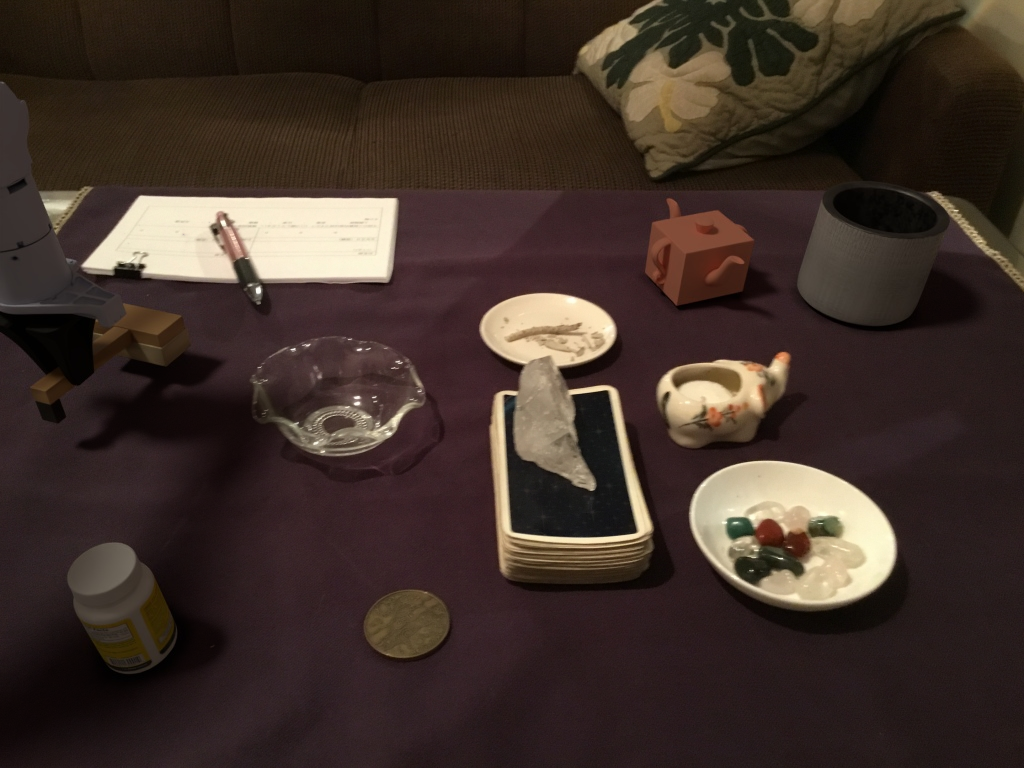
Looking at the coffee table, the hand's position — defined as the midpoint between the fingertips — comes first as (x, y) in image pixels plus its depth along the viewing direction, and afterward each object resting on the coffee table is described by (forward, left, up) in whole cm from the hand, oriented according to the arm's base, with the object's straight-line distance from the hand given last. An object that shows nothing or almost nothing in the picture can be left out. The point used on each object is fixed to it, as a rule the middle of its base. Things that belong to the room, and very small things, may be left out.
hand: (72, 375), depth 67 cm
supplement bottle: (+8, -24, -6) cm, 26 cm away
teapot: (+61, +13, -6) cm, 62 cm away
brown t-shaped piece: (+2, +3, -3) cm, 4 cm away
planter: (+78, +8, -6) cm, 78 cm away
